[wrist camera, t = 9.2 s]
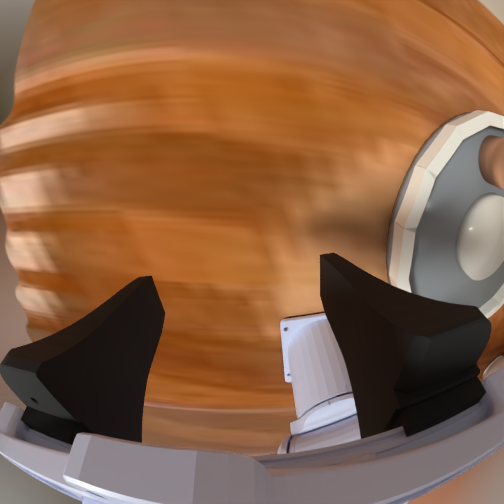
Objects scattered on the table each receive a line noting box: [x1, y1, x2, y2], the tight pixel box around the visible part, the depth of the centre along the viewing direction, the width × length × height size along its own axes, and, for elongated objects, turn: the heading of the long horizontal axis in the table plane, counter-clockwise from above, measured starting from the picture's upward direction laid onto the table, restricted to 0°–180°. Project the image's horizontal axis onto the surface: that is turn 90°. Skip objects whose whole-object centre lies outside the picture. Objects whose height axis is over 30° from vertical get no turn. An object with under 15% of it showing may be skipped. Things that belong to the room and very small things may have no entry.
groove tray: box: [386, 110, 504, 319], centre depth 19 cm, size 24×24×2 cm
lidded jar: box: [482, 355, 504, 381], centre depth 29 cm, size 11×11×9 cm
